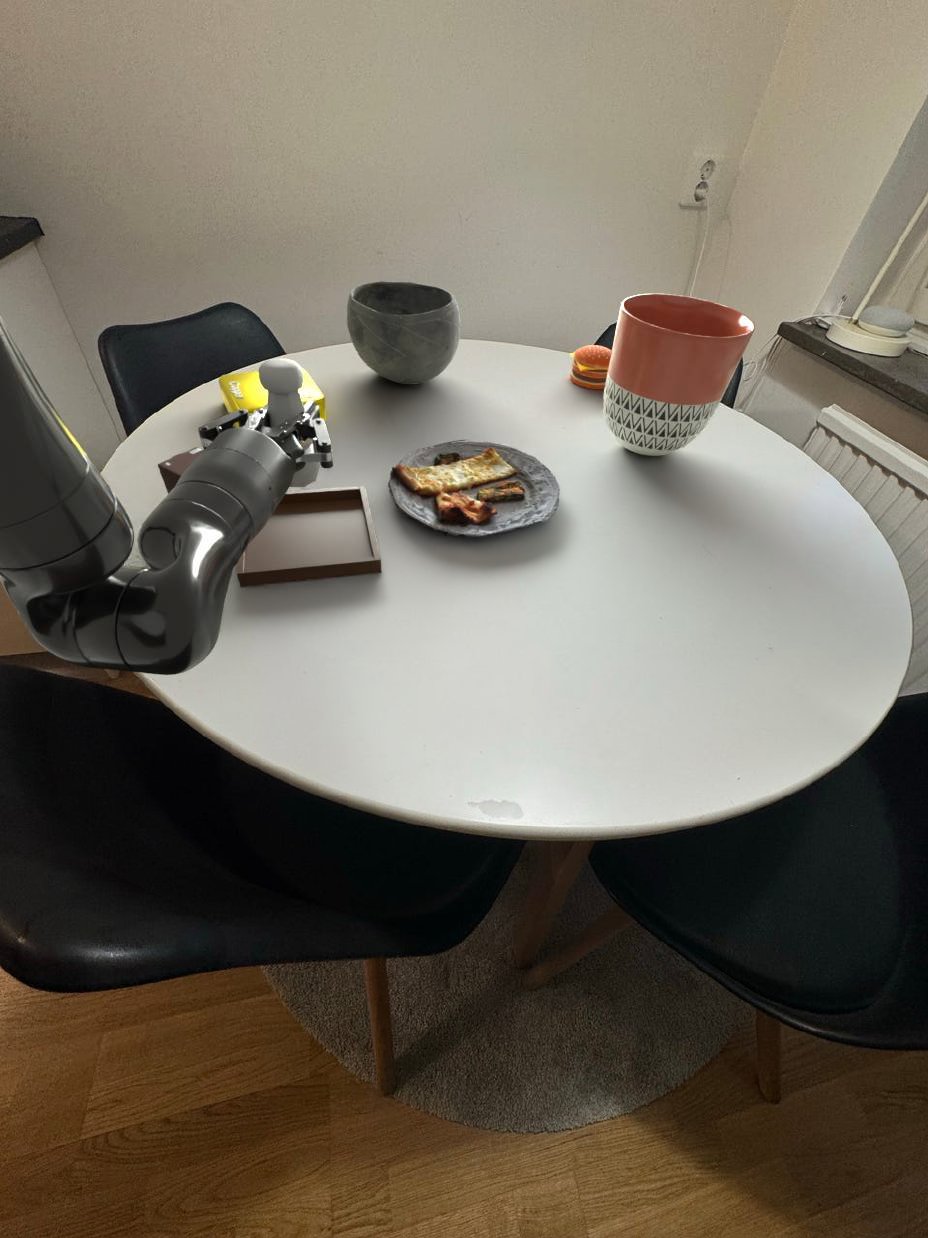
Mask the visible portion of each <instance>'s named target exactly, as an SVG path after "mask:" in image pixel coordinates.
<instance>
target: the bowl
mask: <svg viewBox="0 0 928 1238" xmlns="http://www.w3.org/2000/svg"><path fill="white" fill-rule="evenodd" d="M346 325H347V330H348V333H349V337H350V340H351V343H352V345H353V347H354V349H355V351H356V353H357V355H358V357H360V359H361V361H363V363H364V364H365V365H366V366H367V368H369V369H371V370H372V371H373V372H375V373H376V374H377V375H379V376H380V377H383V378H384V379H386V380H388V381H391V382H394V383H397V384H402V385H418V384H422V383H425V382H428V381H431V380H432V379H434V378H435V377H438V376H439V375H440V374H442V373H443V372H444V371H445V370H446V369H447V368H448V366H449V365H450V363H451V362H452V361H453V359H454V357H455V355H456V352H457V349H458V347H459V343H460V340H461V339H460V338H461V314H460V309H459V305H458V301H457V299H456V297H455V295H454V294H453V293H452V292H450V291H449V290H447V289H445V288H442V287H439V286H434V285H430V284H425V283H418V282H415V281H414V282H412V281H384V280H379V281H371V282H364V283H361V284H357V285H356V286H355V287H353V288H352V289H351V290H350V292H349V295H348V299H347V305H346Z"/></svg>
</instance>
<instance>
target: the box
mask: <svg viewBox="0 0 928 1238" xmlns="http://www.w3.org/2000/svg"><path fill="white" fill-rule="evenodd" d="M203 451H204V449H203V448H200V447H193V448H191V449H189V450H187V451H184V452H180V453H178V454H175V455H173V456H171V458H168V459H166V460H164V461H162V462H160V463H157V467H158V470H159V473H160V476H161V479H162V481H163V483H164V484H163V485H164V487H165V490H166V492H167V495H168V494H169V493H170V492H171V491H172V489H173V488H174V487H175V486H176V484H177V482H178V480H179V479H180V477H181V476H182V474H183V473H184V472H185V470H186V469H187V468H188V467H189V466H190V465H191V464H192V463H193V462H194V461H195V460H196V459H197V458H198V456H199V455H200V454H201V453H202V452H203Z"/></svg>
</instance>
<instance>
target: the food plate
mask: <svg viewBox="0 0 928 1238" xmlns="http://www.w3.org/2000/svg"><path fill="white" fill-rule="evenodd" d="M389 474H390V475H389V480H388V484H387V487H388V489H389V490H388V491H389V493H390V496H391V498H392V500H393V502H394V504H395V506H396V508H397V509H398V510H399V511H400V512H401V513H402V514H403V515H404V516H406V517H408V518H410V519H411V520H414V521H416V522H418V523H420V524H422V525H424V526H425V527H426V528H428V529H429V530H433V531H436V532H437V533H444V536H447V532H448V533H449V535H451V536H453V537H457V536H459V535H464V536H465V537H466V538H469V539H470V538H478V537H488V535H494V534H499V533H505V532H509V531H510V532H511V531H514V530H515V529H520V528H525V527H528V526H529V525H531V524H534V523H545V522H547V521H548V520H550V519H551V518H552V517H553V516H554V515H555V514H556V512H557V511H558V508H559V507H560V505H559V504H560V493H561V492H560V491H561V488H560V484H559V483H558V481H557V478H556V476H555V475H554V473H553V472H552V471H551V470H550V469H549V468H548V467H546V465H545V464H544V463H542V462H541V461H540V460H539V459H538V458H537V457H536V456H533V455H531V454H529V453H527V452H524V451H522V450H520V449H519V448H517V447H513V446H510V445H507V444H503V443H500V442H495V441H493V442H492V441H487V440H485V441H479V440H478V441H476V440H466V439H458V440H452V441H447V442H443V443H438V444H434V445H431V446H427V447H423V448H420V449H417V450H415V451H412V452H410V453H408V454H406V455H405V456H404V457H403V458H402V459H401V460H400V461H399V462H398V464H396V465H395V467H394V466H392V468H391V471H390V473H389Z"/></svg>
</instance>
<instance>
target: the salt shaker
mask: <svg viewBox="0 0 928 1238" xmlns="http://www.w3.org/2000/svg"><path fill="white" fill-rule="evenodd" d="M302 369H303V368H302V366H301V365H300V364H299V363H298V362H296V361H295V360H292V359H290V358H283V357H280V358H271V359H268V360H265V361H263V362H261V364H260V366H259V367H258V371H259V380H260V383H261V385H262V387H263V388H264V389H265V390H267V391H268V414H269V416H270V428H276V427H278V426H279V425H280V424H281V423H283V422H284V421H285V420H286V419H290V420H293V419H294V418H295V417H296V416H298V415H299V414H300V413H301V412H303V411H305V410H304V405H303V402H302V399H301V396H300V394H299V391H298V390H299V389H300V388H302V386H303V381H304V377H303V371H302ZM311 444H313V441H312V439H311V440H310V441H309V442H308V443H307V444H306V445H305V446H304V450H306V449H308V448H309V447H310V445H311ZM320 469H321V464H320V462H310V463H306V465H305V467H304V468H303V469H301V470H299V471H297V472H296V473H295V474H294V476H293V479H292V482H291V485H290V487H289V488H305V487H308V486H309V485H311V484H312V483H315V482H316V480H317V478H318V476H319V472H320Z"/></svg>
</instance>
